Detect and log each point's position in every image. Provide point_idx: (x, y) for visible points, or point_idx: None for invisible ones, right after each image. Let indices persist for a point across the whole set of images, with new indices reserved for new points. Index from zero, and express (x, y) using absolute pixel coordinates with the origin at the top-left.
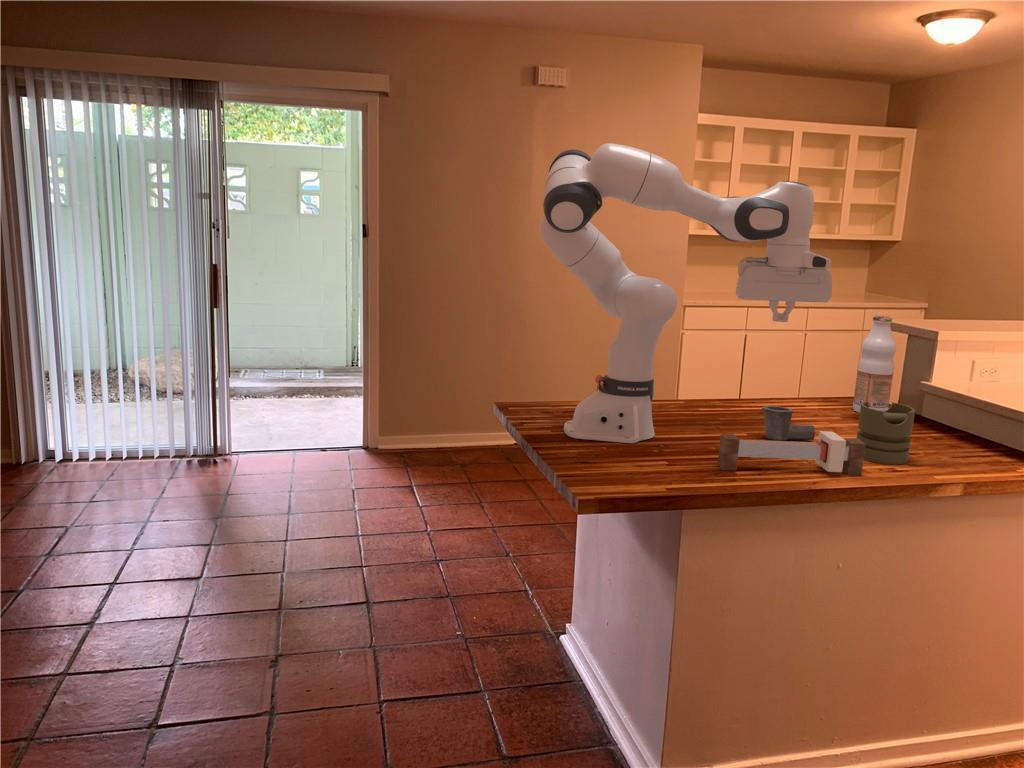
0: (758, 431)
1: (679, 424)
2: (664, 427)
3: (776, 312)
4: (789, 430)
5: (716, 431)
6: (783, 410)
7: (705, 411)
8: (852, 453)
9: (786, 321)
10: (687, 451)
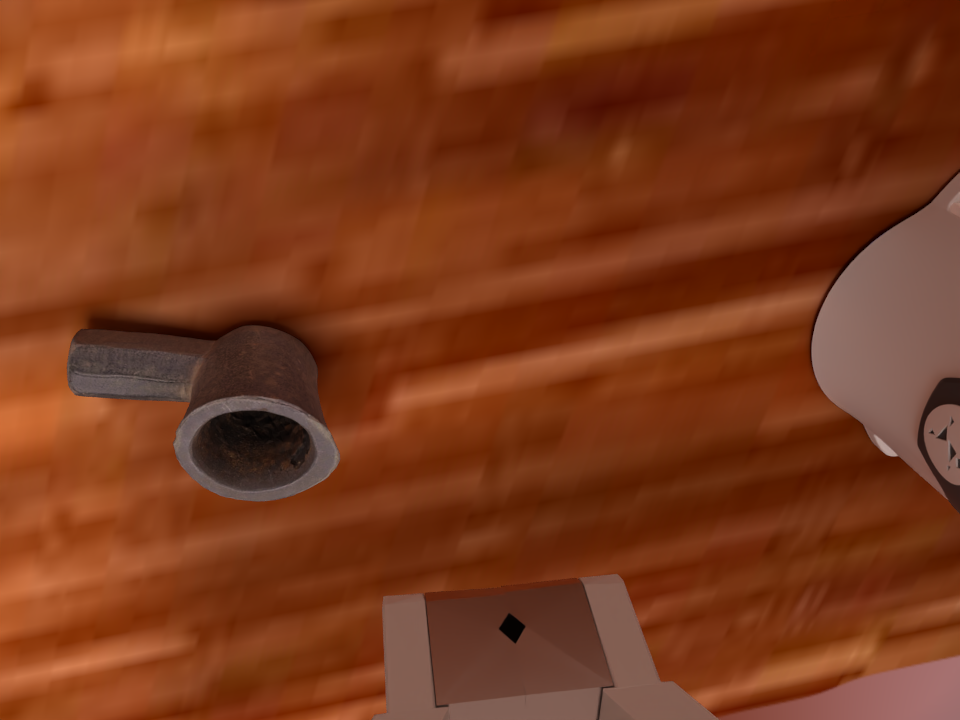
0: None
1: (643, 482)
2: (724, 430)
3: (655, 703)
4: (203, 357)
5: (515, 418)
6: (236, 408)
7: None
8: None
9: (404, 595)
10: (769, 78)
